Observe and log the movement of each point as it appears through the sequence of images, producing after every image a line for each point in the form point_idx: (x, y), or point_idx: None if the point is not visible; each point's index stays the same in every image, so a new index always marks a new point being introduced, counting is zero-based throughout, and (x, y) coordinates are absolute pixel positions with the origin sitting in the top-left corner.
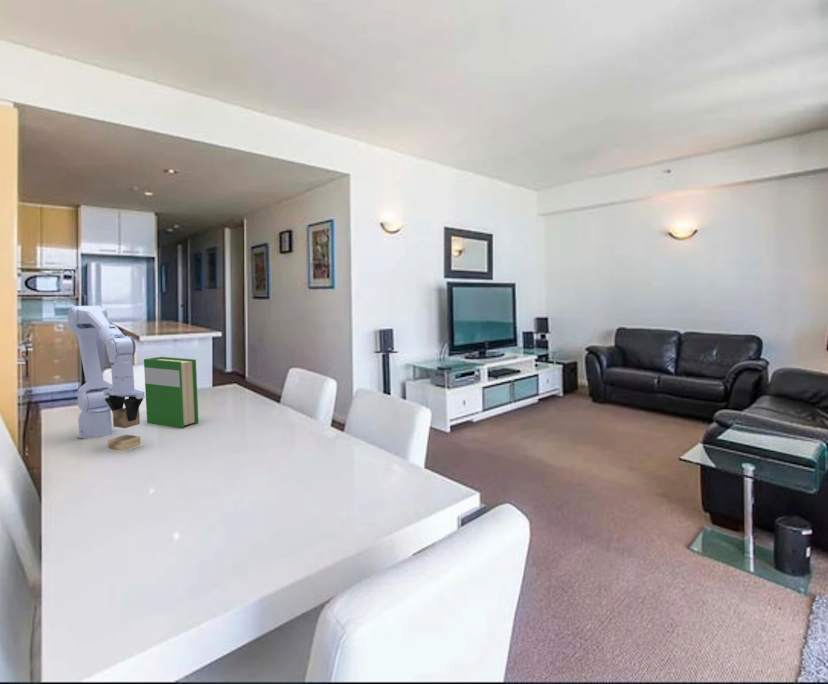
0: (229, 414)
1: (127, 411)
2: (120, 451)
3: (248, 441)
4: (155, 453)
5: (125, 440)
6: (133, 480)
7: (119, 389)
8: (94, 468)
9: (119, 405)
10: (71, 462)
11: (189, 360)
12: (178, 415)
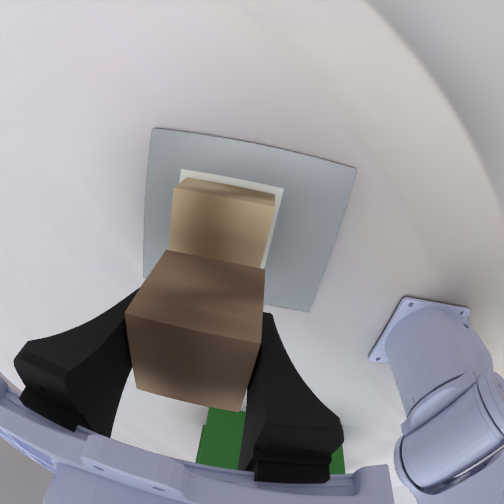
0: (189, 457)
1: (112, 320)
2: (195, 171)
3: (5, 312)
4: (85, 200)
5: (181, 212)
6: (18, 18)
7: (68, 498)
8: (170, 13)
9: (250, 406)
10: (322, 46)
11: None
12: (215, 437)
